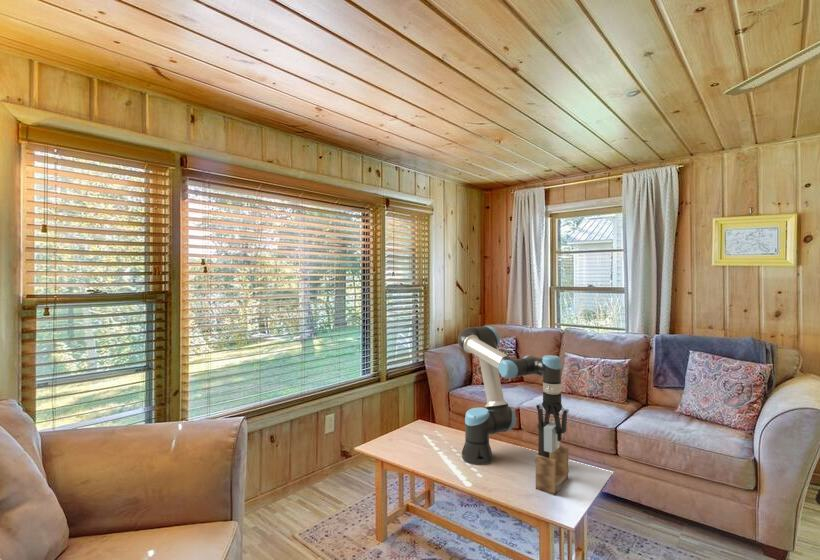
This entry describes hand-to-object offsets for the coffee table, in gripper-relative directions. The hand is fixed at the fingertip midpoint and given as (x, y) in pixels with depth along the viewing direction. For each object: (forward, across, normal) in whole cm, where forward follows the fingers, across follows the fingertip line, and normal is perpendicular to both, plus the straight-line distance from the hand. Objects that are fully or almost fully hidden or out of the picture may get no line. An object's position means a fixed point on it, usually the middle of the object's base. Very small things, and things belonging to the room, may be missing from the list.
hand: (552, 446), depth 175 cm
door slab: (+1, 0, 0) cm, 1 cm away
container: (+16, -8, +16) cm, 24 cm away
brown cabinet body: (+16, 0, 0) cm, 16 cm away
